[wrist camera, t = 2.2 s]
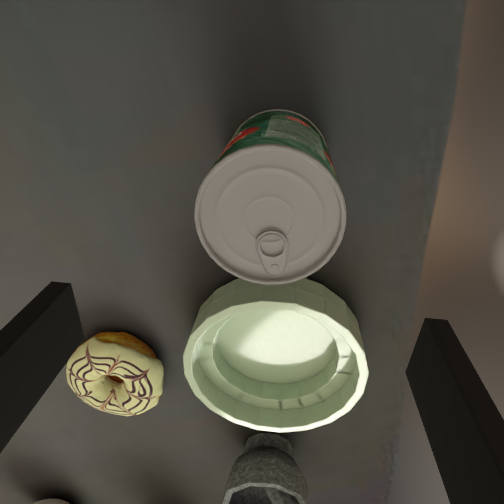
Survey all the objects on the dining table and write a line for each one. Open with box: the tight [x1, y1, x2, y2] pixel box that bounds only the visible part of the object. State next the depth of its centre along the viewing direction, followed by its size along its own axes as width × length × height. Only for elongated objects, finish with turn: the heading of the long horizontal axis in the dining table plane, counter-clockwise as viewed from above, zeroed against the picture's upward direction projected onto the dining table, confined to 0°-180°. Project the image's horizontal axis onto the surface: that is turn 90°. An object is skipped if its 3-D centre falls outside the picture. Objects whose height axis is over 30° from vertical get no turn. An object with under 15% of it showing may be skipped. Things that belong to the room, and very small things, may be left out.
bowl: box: [183, 278, 369, 433], centre depth 35 cm, size 17×17×5 cm
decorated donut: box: [66, 332, 164, 416], centre depth 40 cm, size 10×11×4 cm
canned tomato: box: [194, 109, 346, 285], centre depth 23 cm, size 8×8×11 cm
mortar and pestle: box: [222, 433, 309, 504], centre depth 41 cm, size 11×9×12 cm
